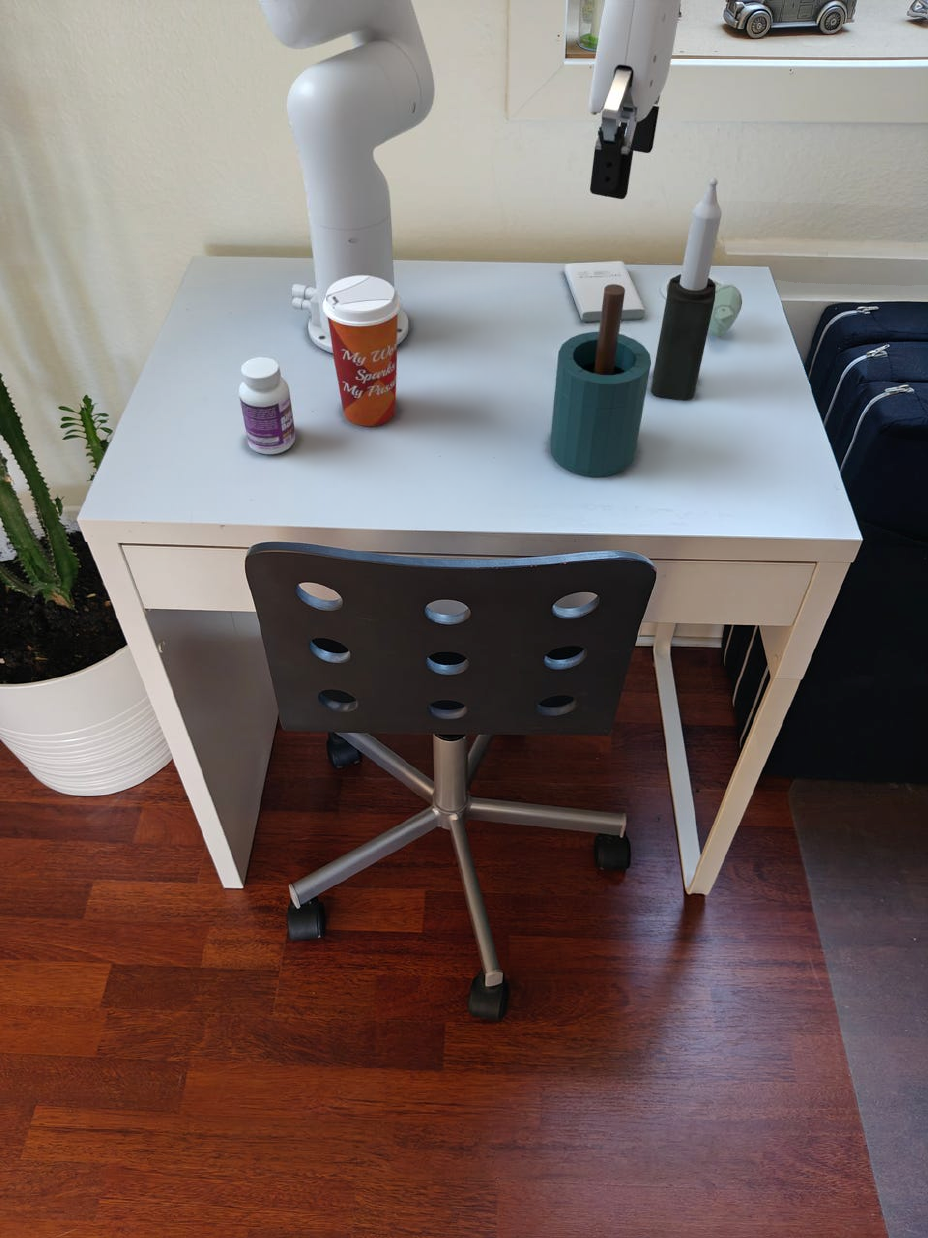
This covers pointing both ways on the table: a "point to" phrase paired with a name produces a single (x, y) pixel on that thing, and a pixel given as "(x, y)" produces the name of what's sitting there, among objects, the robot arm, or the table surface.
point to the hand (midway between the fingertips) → (621, 171)
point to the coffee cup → (364, 346)
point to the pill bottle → (266, 406)
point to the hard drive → (601, 289)
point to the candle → (688, 307)
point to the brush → (609, 329)
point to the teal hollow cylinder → (598, 406)
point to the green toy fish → (724, 309)
